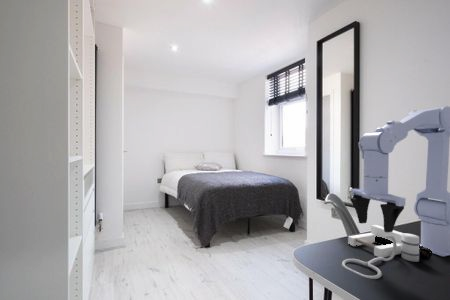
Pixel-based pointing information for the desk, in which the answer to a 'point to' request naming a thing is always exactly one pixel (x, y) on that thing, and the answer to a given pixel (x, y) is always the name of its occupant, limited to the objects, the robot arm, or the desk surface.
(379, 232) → the notched shelf
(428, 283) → the desk surface
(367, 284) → the desk surface
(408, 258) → the white ridged cylinder
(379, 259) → the hook
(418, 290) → the desk surface
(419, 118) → the robot arm
